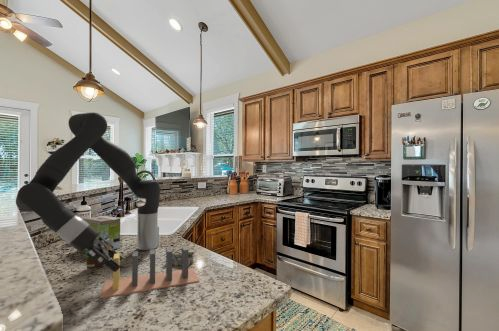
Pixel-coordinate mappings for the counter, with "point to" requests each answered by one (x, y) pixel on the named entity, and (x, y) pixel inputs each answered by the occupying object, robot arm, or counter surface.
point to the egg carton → (178, 258)
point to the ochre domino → (116, 273)
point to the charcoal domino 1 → (135, 269)
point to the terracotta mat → (148, 283)
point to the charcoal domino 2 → (152, 266)
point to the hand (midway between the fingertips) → (119, 264)
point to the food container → (91, 263)
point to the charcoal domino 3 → (169, 264)
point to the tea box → (107, 228)
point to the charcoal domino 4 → (184, 262)
